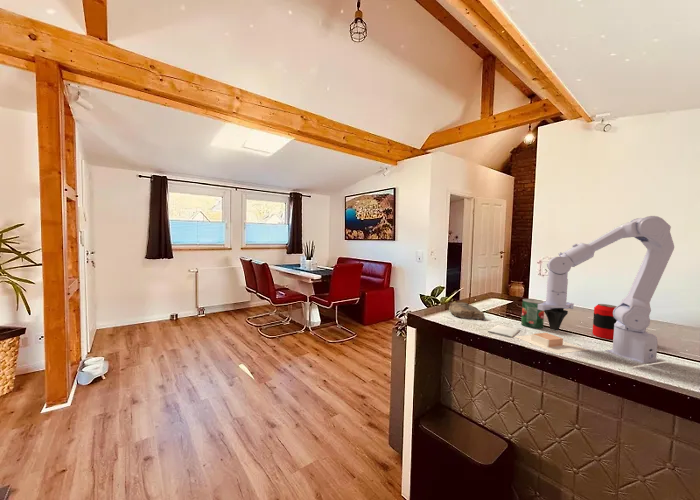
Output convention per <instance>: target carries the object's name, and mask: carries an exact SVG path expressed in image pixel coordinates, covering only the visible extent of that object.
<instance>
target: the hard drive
mask: <svg viewBox="0 0 700 500" xmlns="http://www.w3.org/2000/svg"><path fill="white" fill-rule="evenodd" d="M520 331H521V329H520V328H516V327H512V326H507V325H503V324H496V325H495V326H493V327H492V328H491V329H488V330H487V333H489V334H493V335H496V336H502V337H507V338H510V339H512V338H514V337H515V336H517V334H518V333H519V332H520Z"/></svg>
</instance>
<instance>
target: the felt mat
mask: <svg viewBox="0 0 700 500" xmlns="http://www.w3.org/2000/svg"><path fill="white" fill-rule="evenodd" d="M531 335H532V334H527V335H514V338H517V339H520V340H521V341H524V342H526V343H530V344H531V345H534V346H536V347H538V348H542V349H544V350H547V351H548V352H551V353H553V354H557V355H558V354H559V355H560V354H567V353H575V352H576V353H577V352H583V351H588V350H589V349H587V348H584V347H581V346H580V345H575V344H573V343H570V342H567V341H564V340H563V345H562V346H554V347H546V346H543V345H540V344H538V343H535V342H533V341H531Z"/></svg>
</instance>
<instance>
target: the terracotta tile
mask: <svg viewBox="0 0 700 500" xmlns="http://www.w3.org/2000/svg"><path fill="white" fill-rule="evenodd" d="M530 335H531V341H533V342H535V343H538V344H540V345H543V346H546V347H554V346H562V345H563V341H564V338H562V337H559V336H557V335H554V334H551V333H549V332H543V333H540V332H539V333H531V334H530Z"/></svg>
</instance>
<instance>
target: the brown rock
mask: <svg viewBox="0 0 700 500" xmlns="http://www.w3.org/2000/svg"><path fill="white" fill-rule="evenodd" d="M448 311H449V313H450V314H451V315H453V316H454V317H457V318H460V319H466V320H469V319H470V320H471V319H472V320H484V318H485V313H484V312H483V311H482V310H479V309H478V308H477V307H476V306H474V305H471V304H470V303H467V302H463V301H461V302H460V301H457V302H450V304H449V307H448Z"/></svg>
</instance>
